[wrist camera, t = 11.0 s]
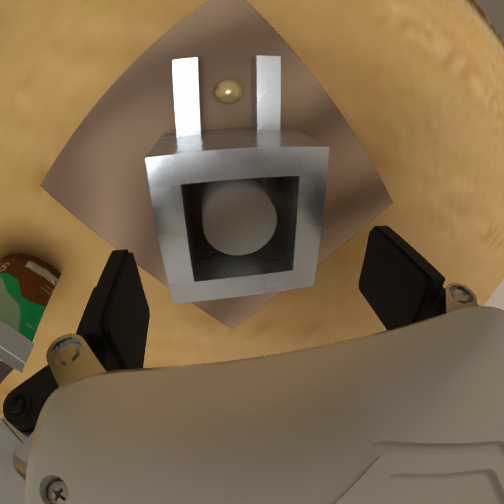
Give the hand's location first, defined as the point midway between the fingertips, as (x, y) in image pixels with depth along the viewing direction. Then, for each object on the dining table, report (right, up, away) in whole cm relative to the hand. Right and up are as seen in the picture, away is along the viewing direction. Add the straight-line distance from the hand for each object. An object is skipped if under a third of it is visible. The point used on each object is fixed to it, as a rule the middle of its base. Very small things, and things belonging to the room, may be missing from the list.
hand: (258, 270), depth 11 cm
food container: (-21, -1, +7) cm, 22 cm away
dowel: (-2, +9, +3) cm, 10 cm away
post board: (-2, +5, +7) cm, 9 cm away
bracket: (-2, +6, +4) cm, 8 cm away
